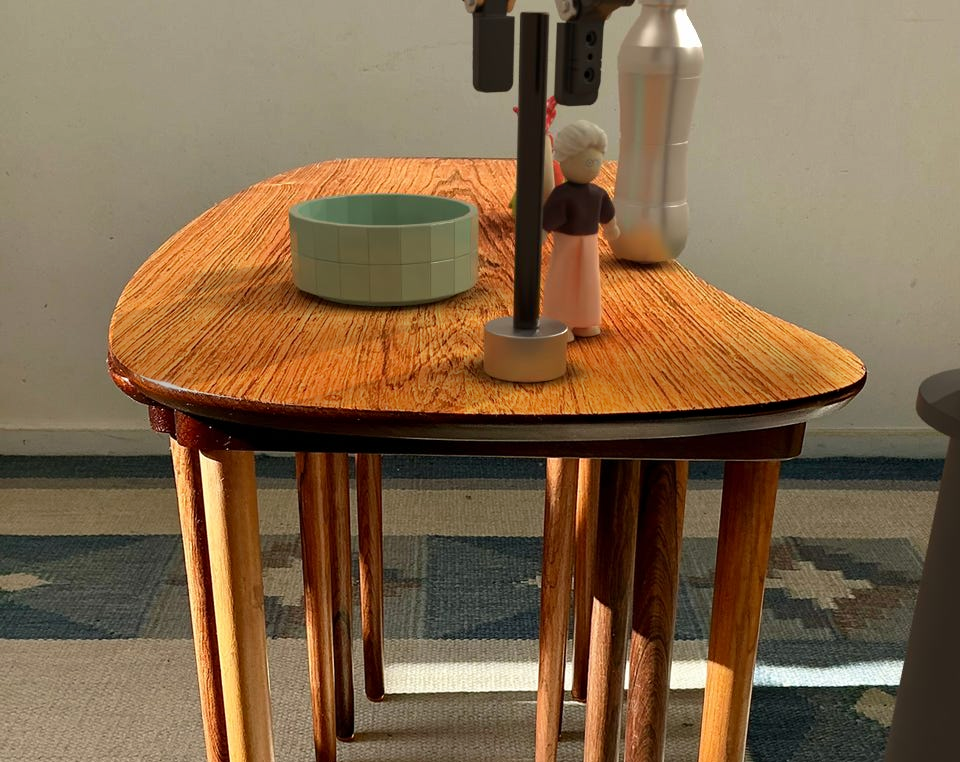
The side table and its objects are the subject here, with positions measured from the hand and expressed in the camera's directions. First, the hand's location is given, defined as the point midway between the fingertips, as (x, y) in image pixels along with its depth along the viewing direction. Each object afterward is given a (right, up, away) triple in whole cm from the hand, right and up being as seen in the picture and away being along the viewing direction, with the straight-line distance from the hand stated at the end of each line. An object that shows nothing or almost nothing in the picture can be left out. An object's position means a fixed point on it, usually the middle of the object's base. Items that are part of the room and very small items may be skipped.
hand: (532, 97), depth 64 cm
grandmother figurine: (+3, -9, +14) cm, 17 cm away
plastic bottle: (+10, +1, +33) cm, 35 cm away
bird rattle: (+3, +9, +47) cm, 48 cm away
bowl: (-9, -3, +24) cm, 26 cm away
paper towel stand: (0, -13, +7) cm, 15 cm away
